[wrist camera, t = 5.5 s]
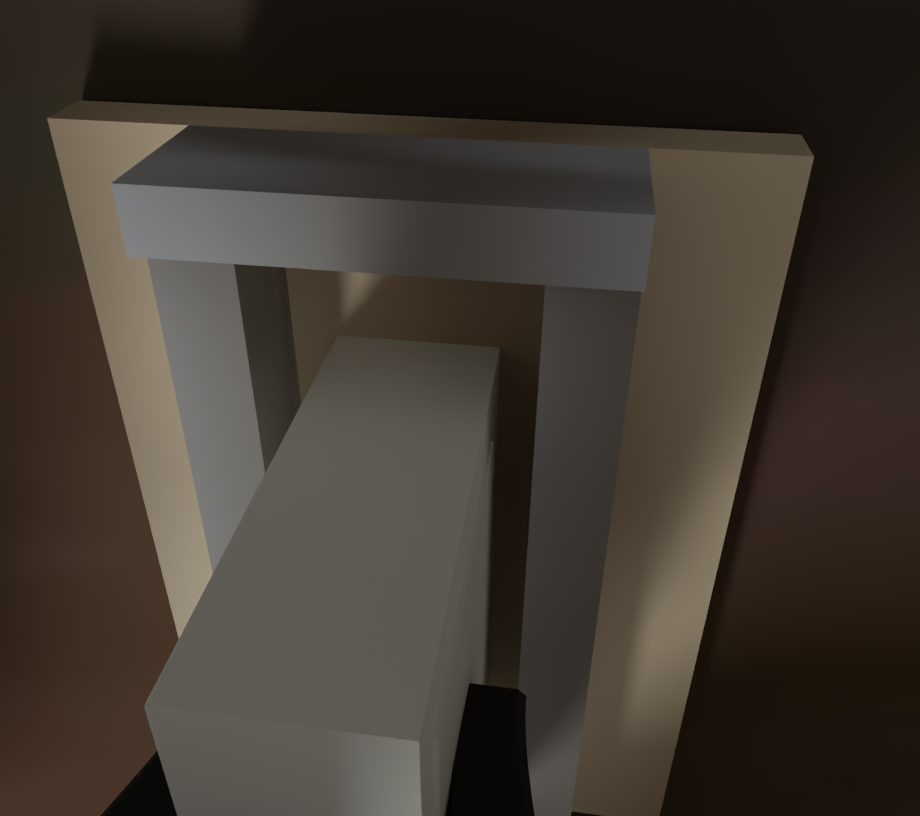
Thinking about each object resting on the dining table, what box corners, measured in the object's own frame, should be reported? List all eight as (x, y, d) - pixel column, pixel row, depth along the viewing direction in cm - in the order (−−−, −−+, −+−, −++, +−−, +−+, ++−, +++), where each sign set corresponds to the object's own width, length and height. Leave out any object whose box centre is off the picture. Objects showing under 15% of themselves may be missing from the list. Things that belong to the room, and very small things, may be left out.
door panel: (365, 712, 16) (260, 1099, 11) (333, 334, 12) (137, 705, 7) (489, 727, 16) (435, 1130, 11) (504, 347, 12) (425, 741, 7)
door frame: (224, 729, 19) (169, 858, 16) (79, 99, 11) (-54, 173, 9) (655, 785, 18) (662, 930, 15) (801, 134, 10) (856, 226, 8)
